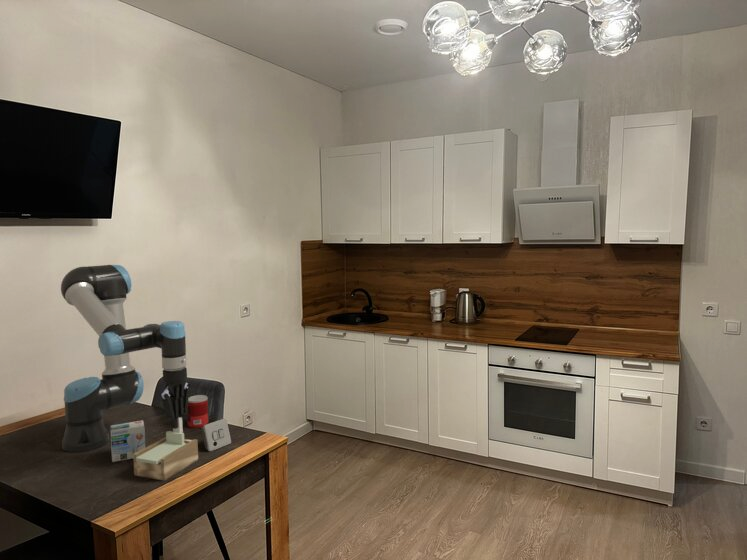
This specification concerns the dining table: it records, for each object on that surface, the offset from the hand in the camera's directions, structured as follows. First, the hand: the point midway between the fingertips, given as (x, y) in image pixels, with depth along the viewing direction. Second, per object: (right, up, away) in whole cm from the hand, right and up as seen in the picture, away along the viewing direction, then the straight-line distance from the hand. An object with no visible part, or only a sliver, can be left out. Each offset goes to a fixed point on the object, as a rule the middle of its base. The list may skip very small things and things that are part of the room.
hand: (178, 436), depth 177 cm
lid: (-3, -3, -7) cm, 8 cm away
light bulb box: (-19, -8, +5) cm, 21 cm away
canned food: (-4, -5, +32) cm, 33 cm away
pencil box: (-2, -9, -5) cm, 10 cm away
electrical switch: (+9, -7, +12) cm, 17 cm away
